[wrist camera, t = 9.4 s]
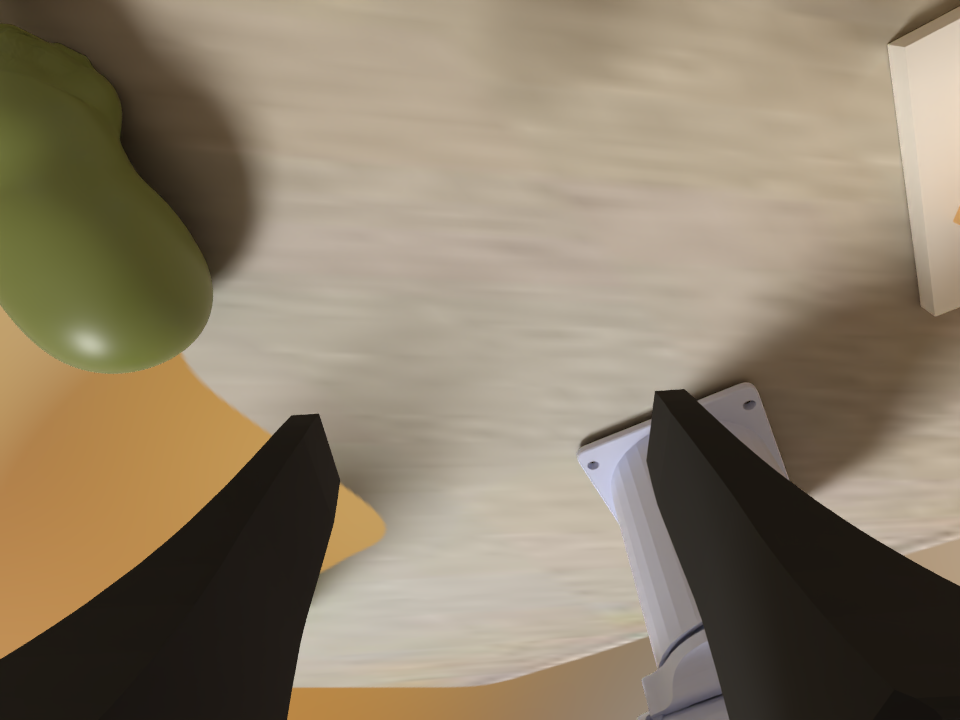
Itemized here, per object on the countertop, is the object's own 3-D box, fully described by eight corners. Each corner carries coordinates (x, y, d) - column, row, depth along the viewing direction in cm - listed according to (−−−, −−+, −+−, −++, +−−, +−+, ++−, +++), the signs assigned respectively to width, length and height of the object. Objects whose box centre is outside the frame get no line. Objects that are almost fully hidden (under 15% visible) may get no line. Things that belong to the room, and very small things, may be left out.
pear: (29, 419, 17) (-229, 57, 13) (135, 347, 22) (-28, 67, 18) (192, 379, 16) (-30, -23, 12) (265, 314, 21) (124, 11, 17)
